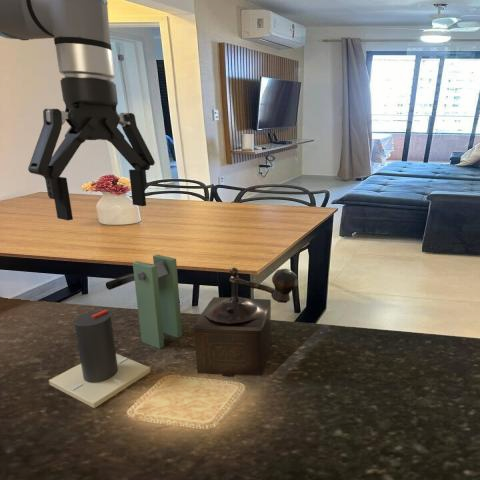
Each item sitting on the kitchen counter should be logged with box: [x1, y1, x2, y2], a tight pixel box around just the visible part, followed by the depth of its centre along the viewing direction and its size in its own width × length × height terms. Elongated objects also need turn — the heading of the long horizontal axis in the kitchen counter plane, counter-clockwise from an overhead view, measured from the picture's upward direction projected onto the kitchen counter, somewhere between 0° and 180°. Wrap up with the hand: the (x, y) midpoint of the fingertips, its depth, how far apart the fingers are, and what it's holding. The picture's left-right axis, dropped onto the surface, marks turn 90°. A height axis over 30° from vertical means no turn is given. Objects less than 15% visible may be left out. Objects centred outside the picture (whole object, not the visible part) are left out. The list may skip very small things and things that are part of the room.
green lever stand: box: [132, 253, 183, 350], centre depth 65 cm, size 10×9×16 cm
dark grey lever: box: [105, 261, 168, 291], centre depth 66 cm, size 12×5×2 cm, turn 65°
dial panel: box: [48, 353, 152, 409], centre depth 56 cm, size 10×9×2 cm
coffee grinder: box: [193, 267, 299, 378], centre depth 60 cm, size 16×11×18 cm
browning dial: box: [73, 309, 118, 383], centre depth 55 cm, size 4×4×9 cm
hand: (105, 211), depth 66 cm, fingers open, 13 cm apart
